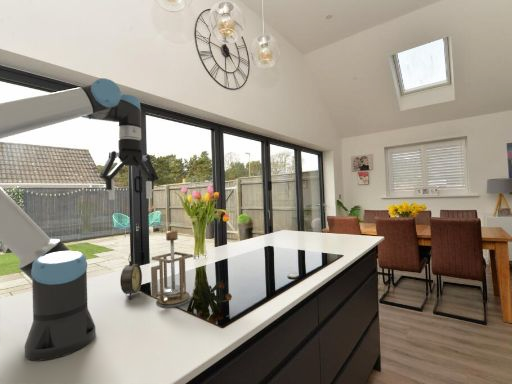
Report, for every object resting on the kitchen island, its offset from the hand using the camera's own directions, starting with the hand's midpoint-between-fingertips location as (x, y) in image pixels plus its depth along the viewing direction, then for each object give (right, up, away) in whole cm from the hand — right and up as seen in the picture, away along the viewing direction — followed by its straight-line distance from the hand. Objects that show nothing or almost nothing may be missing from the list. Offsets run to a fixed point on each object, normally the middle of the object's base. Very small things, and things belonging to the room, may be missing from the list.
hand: (131, 199), depth 94 cm
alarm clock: (-4, -38, +9) cm, 39 cm away
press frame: (+14, -37, +2) cm, 40 cm away
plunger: (+14, -34, +2) cm, 37 cm away
